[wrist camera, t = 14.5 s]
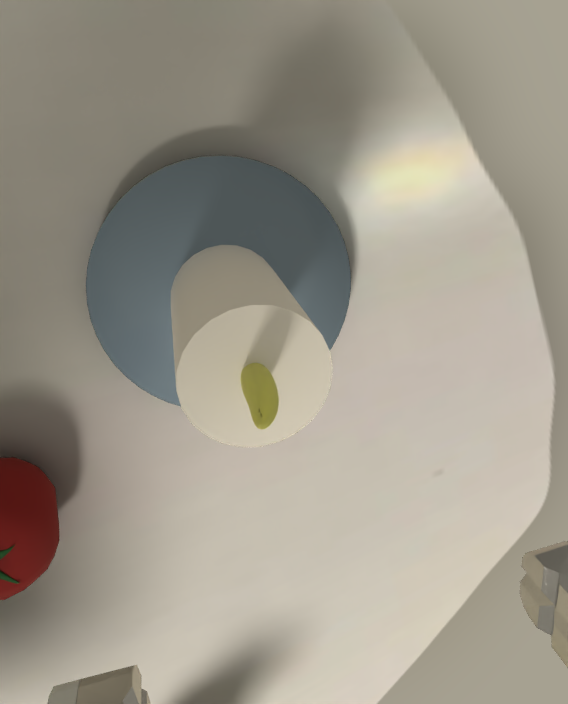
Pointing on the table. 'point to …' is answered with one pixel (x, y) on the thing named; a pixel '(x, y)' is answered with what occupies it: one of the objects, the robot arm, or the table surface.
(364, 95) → the table surface
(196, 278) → the candle
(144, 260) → the candle dish
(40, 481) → the tomato
